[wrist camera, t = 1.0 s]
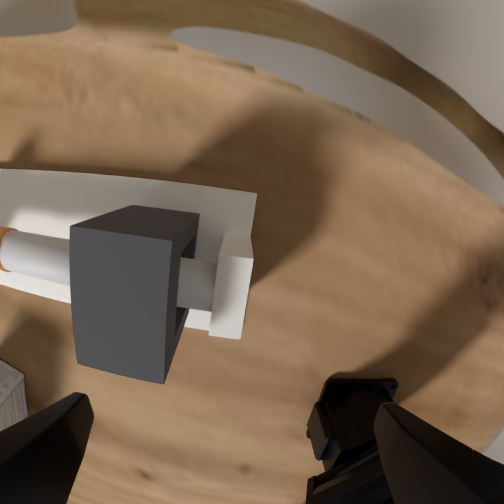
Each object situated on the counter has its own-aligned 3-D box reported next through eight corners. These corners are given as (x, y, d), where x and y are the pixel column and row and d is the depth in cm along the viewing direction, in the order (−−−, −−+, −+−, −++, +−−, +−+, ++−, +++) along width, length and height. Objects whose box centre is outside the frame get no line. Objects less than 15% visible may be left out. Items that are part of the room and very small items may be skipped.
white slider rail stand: (256, 193, 18) (263, 201, 13) (235, 329, 21) (233, 381, 15) (-11, 168, 17) (-62, 173, 11) (-10, 277, 19) (-53, 301, 14)
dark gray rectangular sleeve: (199, 213, 17) (172, 241, 10) (189, 312, 19) (164, 384, 12) (132, 204, 17) (70, 226, 10) (127, 301, 18) (77, 363, 11)
